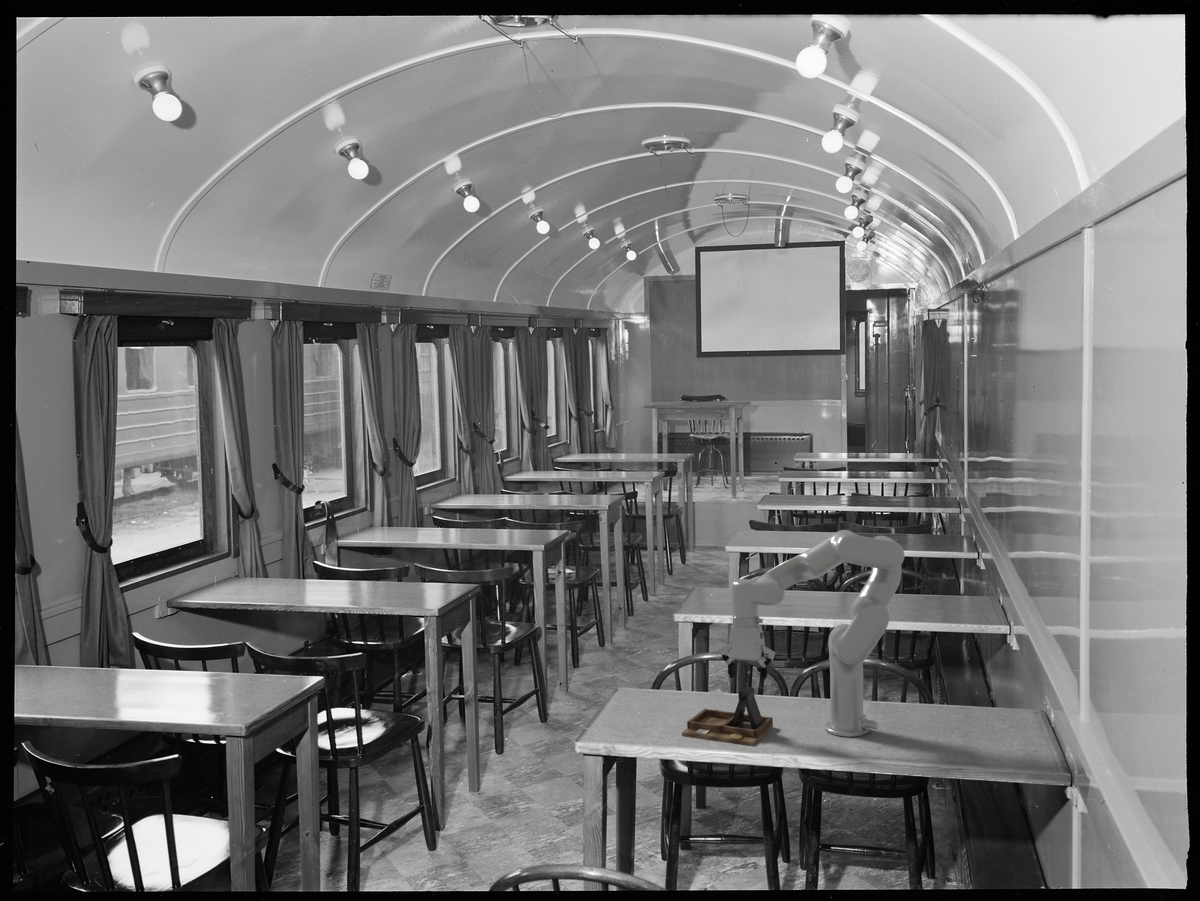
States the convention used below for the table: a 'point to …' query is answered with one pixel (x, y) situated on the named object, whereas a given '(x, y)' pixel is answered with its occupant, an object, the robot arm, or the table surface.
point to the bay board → (725, 727)
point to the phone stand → (753, 711)
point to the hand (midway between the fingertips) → (747, 678)
